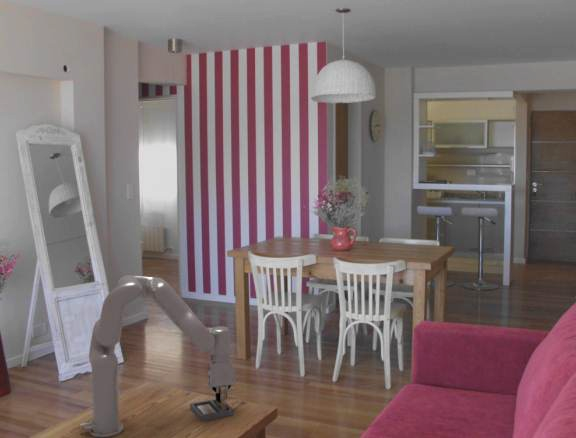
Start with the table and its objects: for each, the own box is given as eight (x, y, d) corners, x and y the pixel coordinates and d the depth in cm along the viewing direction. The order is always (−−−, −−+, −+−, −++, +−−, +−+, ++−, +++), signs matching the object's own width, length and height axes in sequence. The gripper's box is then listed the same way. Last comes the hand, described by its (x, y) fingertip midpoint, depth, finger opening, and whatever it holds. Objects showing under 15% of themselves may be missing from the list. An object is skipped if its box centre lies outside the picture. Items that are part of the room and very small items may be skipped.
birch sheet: (222, 415, 264) (221, 386, 263) (216, 409, 270) (216, 381, 269) (226, 414, 265) (226, 386, 264) (221, 408, 271) (220, 380, 270)
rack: (200, 423, 257) (200, 416, 256) (190, 410, 269) (190, 403, 269) (233, 417, 262) (233, 410, 262) (221, 405, 275) (221, 398, 275)
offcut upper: (204, 418, 259) (204, 415, 259) (196, 409, 268) (196, 406, 268) (216, 416, 261) (216, 412, 261) (208, 407, 270) (208, 404, 270)
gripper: (204, 362, 259) (205, 407, 261) (242, 357, 265) (242, 401, 267) (199, 357, 265) (200, 401, 267) (235, 352, 272) (236, 395, 274)
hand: (221, 400), depth 267 cm, fingers closed on birch sheet, 1 cm apart
